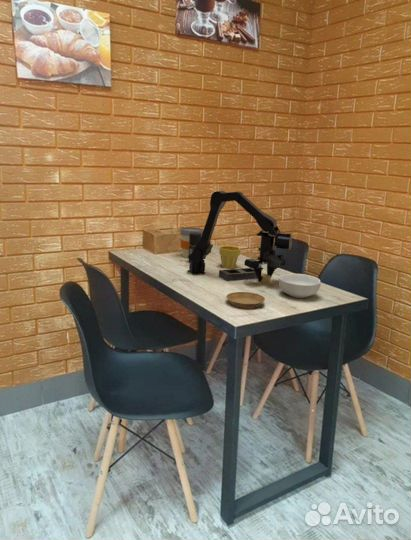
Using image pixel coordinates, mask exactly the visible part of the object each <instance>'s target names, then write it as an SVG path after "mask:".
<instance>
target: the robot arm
mask: <svg viewBox="0 0 411 540" xmlns="http://www.w3.org/2000/svg"><path fill="white" fill-rule="evenodd" d="M232 201H233V202H234V201H235V202H236V203H237V204H238V205H240V206H241V208H242V209H244V210H245V211H246V212H247V213H248V214H249V215H250V216H251V217H253V219H254V220H255V221H256V223H257V225H258V226H259V228H260V231H259V232H258V233H256V236H258V237H260V246H259V247H258V250H257V251H259V256H257V259H254V258H245V259H244V265H243V266H245V267H246V268H253V269H254V271H255V273H256V276H257V278H256V279H257V282H258V281H259V282H260V281H261V274H262V273H263V272H262V271H263V269H264V267H263V265H266V274H268V275H270V276H271V278H272V276H273V275H274V272H275V271H276V270H277V269H278V268H280V267H281V266H287V261H286V258H285V255H284V254H276V250H275V249H274V248H275V247H276V249H283V250H291V248H292V245H293V239H292V238H293V237H292V233H285V232H282V231H281V230H280V229H279V227H278V224H277V223H278V222H277V220H276V219H275V218H274V217H272V216H271V215H269V214H268V213H266V212H264V211H263V210H261V209H260V208H259V207H258V206H257V205H256V204H254V203H253V202H252V201H251V200H250V199H249V198H248V197H247V196H246V195H244V193H243V192H242V191H240V190H239V191H232V192H229V191H228V192H226V191H225V190H217V191H213V193H211V196H210V202H209V212H208V215H207V219H206V221H205V225H204V227H203V233H202V236H201V239H200V240H199V241H198V243H197V244H196V246H195V248H194V250H193V253H191V254H190V255H189V256H188V258H187V259H189V261H190V263H189V265H188V266H189V268H188V270H187V272H188V273H190V274H191V275H205V274H206V272H205V271H206V263H205V259H206V258H207V256H208V255H210V254H211V253H212V248H213V247H214V244H212V243H211V239H212V236H213V234H214V231H215V227H216V225H217V222H218V218H219V216H220V213H221V211H222V209H223V208H224V207H225V205H226V204H227V202H232ZM274 246H275V247H274ZM261 272H262V273H261Z"/></svg>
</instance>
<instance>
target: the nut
mask: <svg viewBox="0 0 411 540" xmlns="http://www.w3.org/2000/svg"><path fill="white" fill-rule="evenodd" d="M271 279H272V277H271V276H270V275H268V274H267V272H266V273H261V281H260V282H259V281H258V280H257V283H258V284H260V285H262V286H267V285H271Z"/></svg>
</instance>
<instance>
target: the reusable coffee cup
mask: <svg viewBox="0 0 411 540" xmlns="http://www.w3.org/2000/svg"><path fill="white" fill-rule="evenodd" d="M203 230H204V228H199V227H182V228H180V231H179V232H180V233H179V235H180V247H181V253H182V257H183V258H184V259H188V256H189V235H190V233H201V236H202V233H203Z"/></svg>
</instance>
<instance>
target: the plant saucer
mask: <svg viewBox="0 0 411 540" xmlns="http://www.w3.org/2000/svg"><path fill="white" fill-rule="evenodd" d="M225 296H226V297H225V298H226V299H227V301H228V302H229V303H230V304H231V305H233V306H234V307H238V308H240V309H241V308H242V309H255V308H258V307H260V306H261V305H262V304H263V303H264V302H265V301H266V298H265V297H264V296H263V295H260V294H258V293H254V292H247V291H235V292H230V293H228V294H227V295H225Z"/></svg>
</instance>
